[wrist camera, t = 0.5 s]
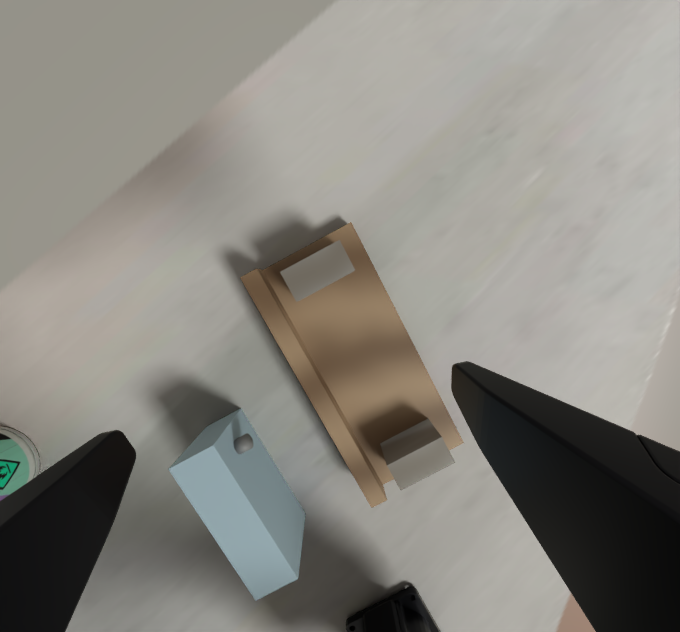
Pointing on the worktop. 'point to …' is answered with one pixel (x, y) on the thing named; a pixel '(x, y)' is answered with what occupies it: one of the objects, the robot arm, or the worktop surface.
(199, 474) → the door panel
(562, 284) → the worktop surface
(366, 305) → the rail
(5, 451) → the spray can
